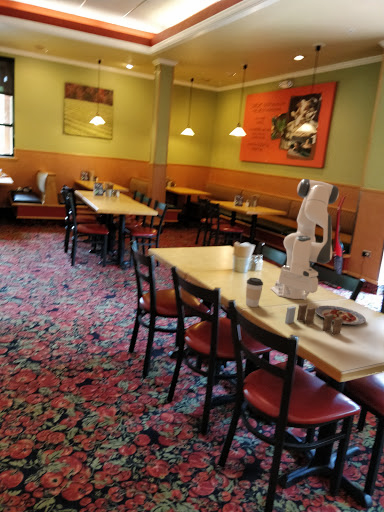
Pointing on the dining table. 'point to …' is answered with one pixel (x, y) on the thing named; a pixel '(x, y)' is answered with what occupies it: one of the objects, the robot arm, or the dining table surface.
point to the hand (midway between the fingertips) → (295, 296)
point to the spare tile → (290, 314)
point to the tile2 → (310, 315)
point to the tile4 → (327, 322)
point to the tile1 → (302, 312)
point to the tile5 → (337, 326)
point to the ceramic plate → (341, 314)
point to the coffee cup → (253, 291)
